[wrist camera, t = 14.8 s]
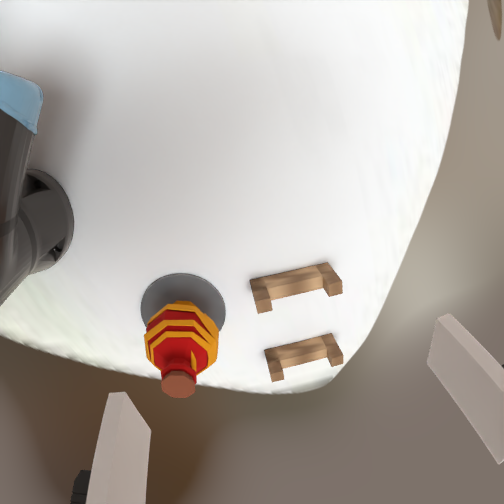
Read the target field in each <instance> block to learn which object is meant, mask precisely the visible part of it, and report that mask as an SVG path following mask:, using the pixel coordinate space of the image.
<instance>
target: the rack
mask: <svg viewBox="0 0 504 504" xmlns="http://www.w3.org/2000/svg"><path fill="white" fill-rule="evenodd" d="M250 283H251V288H252V293H253V297H254V300H255V304H256V308H257V312H258V314H259V313H263V312H268V311H272V305H271V300H275V299H279V298H283V297H288V296H292V295H296V294H301V293H305V292H309V291H313V290H317V289H321V288H324V290H325V291H326V293H327V294H328V296H329V297H330V296H334V295H338V294H342V293H343V292H342V280H341V279H340V278H339V276H338V275H337V274H336V273H335V271H334V270H333V269H332V267H331V266H330V265H329V264H328V262H327V263H323V264H319V265H314V266H310V267H306V268H301V269H297V270H292V271H288V272H283V273H279V274H274V275H270V276H265V277H261V278H256V279H252V280H250ZM264 351H265V355H266V360H267V364H268V368H269V372H270V376H271V380H272V382H275V381H279V380H284V375H283V370H282V369H283V368H287V367H292V366H296V365H300V364H304V363H307V362H311V361H315V360H319V359H322V358H326V357H327V358H328V360H329V362H330V364H331V366H332V367H333V366H337V365H340V364H343V354H342V352H341V350H340V348H339V346H338V344H337V342H336V341H335V339H334V337H333V335H332V333H330V334H327V335H323V336H319V337H316V338H312V339H308V340H304V341H300V342H296V343H292V344H288V345H283V346H279V347H275V348H270V349H266V350H264Z"/></svg>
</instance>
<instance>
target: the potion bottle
mask: <svg viewBox="0 0 504 504" xmlns="http://www.w3.org/2000/svg"><path fill="white" fill-rule="evenodd" d="M146 331H147V333H146V334H145V335H144V339H145V348H146V356H147V358H148V360H149V361H150V362H151V363H152V364H153V365H154V366H155V367H156V368H158V369H159V370H160V371H161V377H162V381H161V385H162V391H163V392H165V393H167V394H168V395H170V396H171V397H175V398H187V397H188V396H190V395H191V394H193V393H194V392H195V384H196V383H197V381H196V376H197V375H198V374H200V373H201V372H203V371H204V370H205V369H207V368H208V367H210V366H211V365H212V364H213V363H214V362H216V359H217V353H218V337H219V330H218V328H217V326H216V325H215V323H214V321H213V320H212V319H211V318H209V317H208V316H207V314H205V313H204V314H203V313H202V312H201V311H200V309H199V308H198V307H197V306H195V305H194V304H193V303H192V302H191V301H176V302H174V303H173V304H167V305H166V306H165V307H164V308H162V309H161V310H160V311H159V312H157V313H156V314H155V315H154V316H152V317H151V319H150V320H149V322H148V323H147V328H146Z"/></svg>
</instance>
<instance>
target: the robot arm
mask: <svg viewBox="0 0 504 504" xmlns="http://www.w3.org/2000/svg"><path fill="white" fill-rule="evenodd" d="M42 104H43V93H42V90H41V88H40V87H39V86H38V85H37V84H35V83H33V82H31V81H29V80H26V79H24V78H21V77H18V76H16V75H13V74H10V73H7V72H4V71H1V70H0V306H1V305H2V304H3V303H4V301H5V300H6V299H7V298H8V297H9V296H10V294H11V293H12V292H13V291H14V290H15V289H16V288H17V287H18V286H19V284H20V283H21V282H22V281H23V280H24V279H25V278H26V277H27V276H28V275H30V274H33V273H37V272H40V271H43V270H46V269H48V268H50V267H51V266H53V265H54V264H56V263H57V262H58V261H59V259H60V258H61V257H62V256H63V255H64V254H65V253H66V251H67V249H68V248H69V246H70V243H71V240H72V236H73V228H74V221H73V213H72V209H71V205H70V202H69V200H68V198H67V196H66V194H65V192H64V190H63V189H62V188H61V186H60V185H59V184H58V183H57V182H56V181H55V180H54V179H53V178H52V177H51V176H49V175H48V174H46V173H44V172H42V171H39V170H34V169H26V168H27V164H28V159H29V155H30V151H31V147H32V143H33V139H34V135H36V134H37V128H36V127H37V123H38V119H39V115H40V111H41V108H42ZM427 364H428V366H429V367H430V368H431V370H432V371H433V372H434V374H435V375H436V376H437V378H438V379H439V380H440V382H441V383H442V384H443V385H444V387H445V388H446V390H447V391H448V392H449V394H450V395H451V396H452V398H453V399H454V401H455V402H456V403H457V405H458V406H459V407H460V409H461V410H462V411H463V413H464V414H465V416H466V417H467V419H468V420H469V422H470V423H471V424H472V426H473V427H474V429H475V430H476V432H477V433H478V435H479V436H480V438H481V439H482V441H483V442H484V444H485V445H486V446H487V448H488V449H489V451H490V453H491V454H492V456H493V457H494V459H495V460H496V462H497V463H498V465H499V464H500V463H502V462H503V461H504V365H502V366H500V364H499V363H498V362H497V361H496V360H495V359H494V358H493V357H492V356H491V355H490V354H489V353H488V352H487V351H486V349H485V348H484V347H483V346H482V345H481V344H480V343H479V342H478V341H477V340H476V339H475V338H474V337H473V336H472V335H471V334H470V333H469V332H468V331H467V330H466V329H465V328H464V327H463V326H462V325H461V324H460V323H459V322H458V321H457V320H456V319H455V318H454V317H453V316H452V315H451V314H450V313H448V314H446V315H444V316H441V317H439V318H436V323H435V328H434V334H433V338H432V342H431V347H430V351H429V355H428V360H427ZM150 435H151V429H150V428H149V427H148V425H147V424H146V422H145V421H144V419H143V418H142V417H141V415H140V414H139V412H138V411H137V409H136V408H135V406H134V405H133V403H132V402H131V400H130V398H129V397H128V395H127V394H126V393H125V392H119V393H109V396H108V400H107V404H106V408H105V412H104V416H103V420H102V424H101V428H100V433H99V437H98V442H97V447H96V451H95V456H94V461H93V466H92V471H88V470H81V471H80V473H79V474H78V476H77V477H76V479H75V481H74V486H73V491H72V492H73V494H72V496H71V504H145V499H146V482H147V469H148V456H149V445H150Z"/></svg>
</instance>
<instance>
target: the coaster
mask: <svg viewBox="0 0 504 504" xmlns="http://www.w3.org/2000/svg"><path fill="white" fill-rule="evenodd" d="M176 301H191V302H192V303H193V304H194V305H195V306H197V307H198V308H199V309H200V311H201V312H202V313H203V314H204V313H205V314H207V316H208V317H209V318H211V319H212V320H213V321H214V323H215V325H216V326H217V328H218V330H219V331H220V330H221V328H222V326H223V324H224V321H225V305H224V301H223V298H222V296H221V294H220V293H219V292H218V290H217V289H216V288H215V287H214V286H213V285H212V284H210V283H209V282H208V281H206V280H204V279H202V278H200V277H197V276H194V275H190V274H171V275H168V276H164V277H162V278H160V279H158V280H156V281H155V282H154V283H152V284H151V285H150V286H149V288H148V289H147V290H146V292H145V294H144V296H143V299H142V303H141V316H142V319H143V322H144V324H145V326H146V327H147V323H148V322H149V320H150V319H151V317H152V316H154V315H155V314H156V313H157V312H159V311H160V310H161V309H162V308H164V307H165V306H166V305H167V304H173V303H174V302H176Z"/></svg>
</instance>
